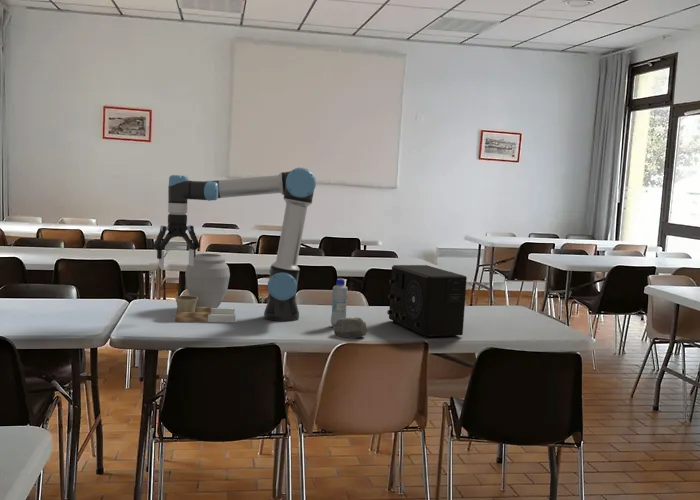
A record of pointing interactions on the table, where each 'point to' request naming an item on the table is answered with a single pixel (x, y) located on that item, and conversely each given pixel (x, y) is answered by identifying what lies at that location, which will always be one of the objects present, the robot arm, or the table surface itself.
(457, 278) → the vintage radio
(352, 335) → the stone
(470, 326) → the table surface
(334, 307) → the bottle
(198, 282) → the vase
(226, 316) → the bay
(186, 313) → the flat square wooden block
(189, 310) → the flower pot
